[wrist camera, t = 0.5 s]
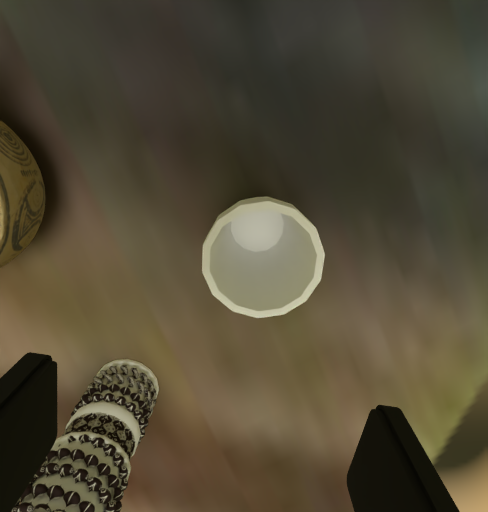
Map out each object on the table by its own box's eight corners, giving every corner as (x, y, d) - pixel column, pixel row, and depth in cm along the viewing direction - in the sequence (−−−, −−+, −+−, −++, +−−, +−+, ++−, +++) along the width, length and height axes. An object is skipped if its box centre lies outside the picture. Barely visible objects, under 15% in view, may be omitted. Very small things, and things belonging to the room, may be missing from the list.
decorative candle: (147, 348, 43) (28, 594, 20) (171, 405, 46) (93, 681, 22) (81, 364, 44) (-110, 620, 20) (109, 419, 47) (-31, 701, 23)
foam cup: (198, 226, 38) (176, 264, 26) (254, 164, 36) (259, 174, 24) (259, 279, 40) (265, 338, 28) (315, 223, 38) (349, 260, 26)
